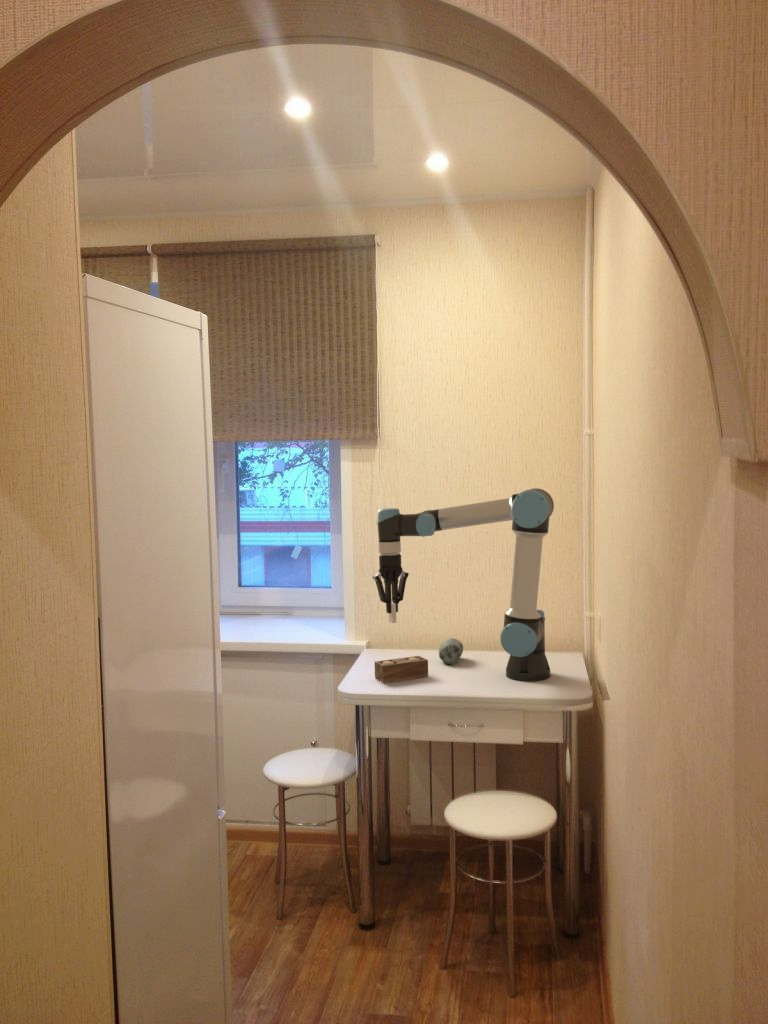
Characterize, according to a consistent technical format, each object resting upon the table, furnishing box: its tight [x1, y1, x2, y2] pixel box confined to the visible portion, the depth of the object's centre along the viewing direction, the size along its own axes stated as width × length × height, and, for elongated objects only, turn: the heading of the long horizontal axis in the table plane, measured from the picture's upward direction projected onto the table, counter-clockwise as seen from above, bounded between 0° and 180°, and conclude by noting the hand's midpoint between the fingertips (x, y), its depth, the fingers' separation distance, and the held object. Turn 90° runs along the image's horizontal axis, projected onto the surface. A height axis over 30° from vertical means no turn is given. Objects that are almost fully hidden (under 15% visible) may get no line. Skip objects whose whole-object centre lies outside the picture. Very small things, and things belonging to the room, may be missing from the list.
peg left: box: [382, 661, 394, 665], centre depth 306 cm, size 4×4×5 cm
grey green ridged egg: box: [438, 637, 464, 665], centre depth 330 cm, size 14×10×10 cm
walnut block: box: [374, 655, 429, 684], centre depth 308 cm, size 7×17×6 cm, turn 115°
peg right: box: [409, 658, 420, 661], centre depth 310 cm, size 4×4×5 cm
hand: (392, 622), depth 307 cm, fingers closed
